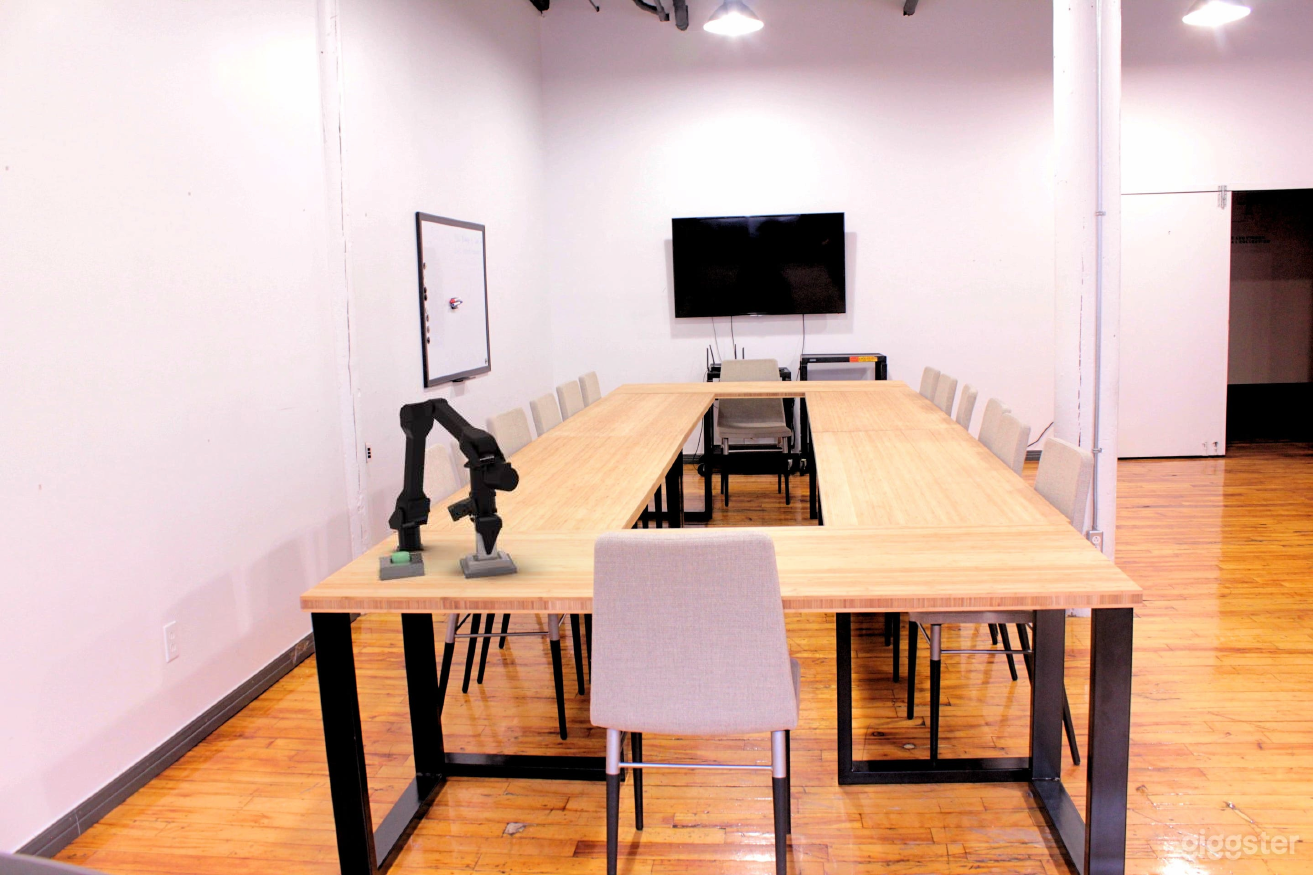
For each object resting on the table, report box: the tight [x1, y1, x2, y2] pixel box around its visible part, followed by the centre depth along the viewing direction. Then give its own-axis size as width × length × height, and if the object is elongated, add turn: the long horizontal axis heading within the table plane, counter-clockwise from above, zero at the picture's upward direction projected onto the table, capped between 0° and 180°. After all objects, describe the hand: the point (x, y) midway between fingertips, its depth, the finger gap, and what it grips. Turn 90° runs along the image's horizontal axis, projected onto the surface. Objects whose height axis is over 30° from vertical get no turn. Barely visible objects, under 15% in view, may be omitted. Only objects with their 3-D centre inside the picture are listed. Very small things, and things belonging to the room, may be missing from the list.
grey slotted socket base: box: [459, 549, 518, 579], centre depth 239 cm, size 14×12×3 cm
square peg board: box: [378, 552, 425, 581], centre depth 238 cm, size 10×10×3 cm
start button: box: [391, 551, 410, 563], centre depth 238 cm, size 4×4×4 cm
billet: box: [474, 529, 498, 562], centre depth 238 cm, size 4×4×8 cm
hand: (486, 550), depth 238 cm, fingers open, 8 cm apart
